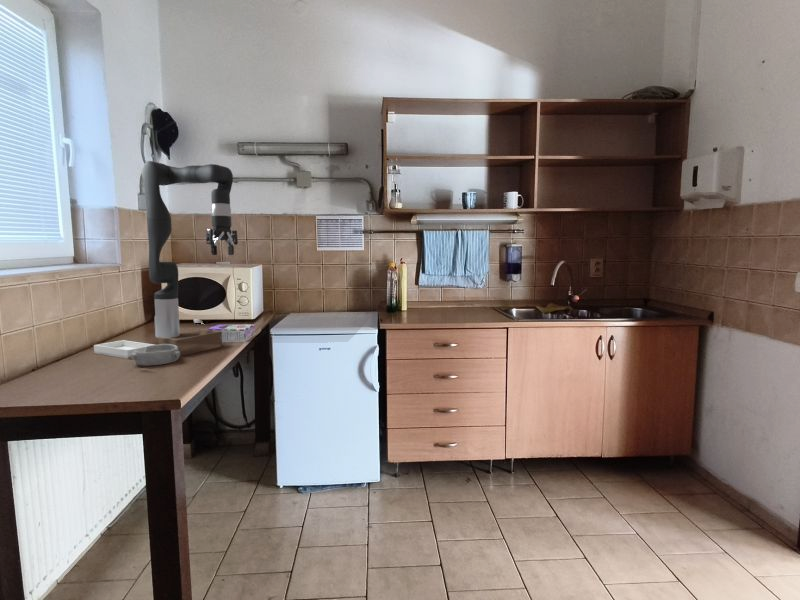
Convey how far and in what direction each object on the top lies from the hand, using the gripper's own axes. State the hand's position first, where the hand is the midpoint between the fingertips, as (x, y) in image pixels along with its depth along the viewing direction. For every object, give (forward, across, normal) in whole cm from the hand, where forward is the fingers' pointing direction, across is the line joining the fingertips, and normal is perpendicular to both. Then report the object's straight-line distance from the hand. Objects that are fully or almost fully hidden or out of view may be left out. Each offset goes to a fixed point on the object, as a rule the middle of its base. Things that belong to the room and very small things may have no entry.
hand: (222, 255), depth 190 cm
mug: (+37, +23, +42) cm, 60 cm away
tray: (+36, -34, +15) cm, 52 cm away
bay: (+36, -19, 0) cm, 41 cm away
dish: (+36, -37, -8) cm, 53 cm away
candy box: (+33, -1, +7) cm, 34 cm away
